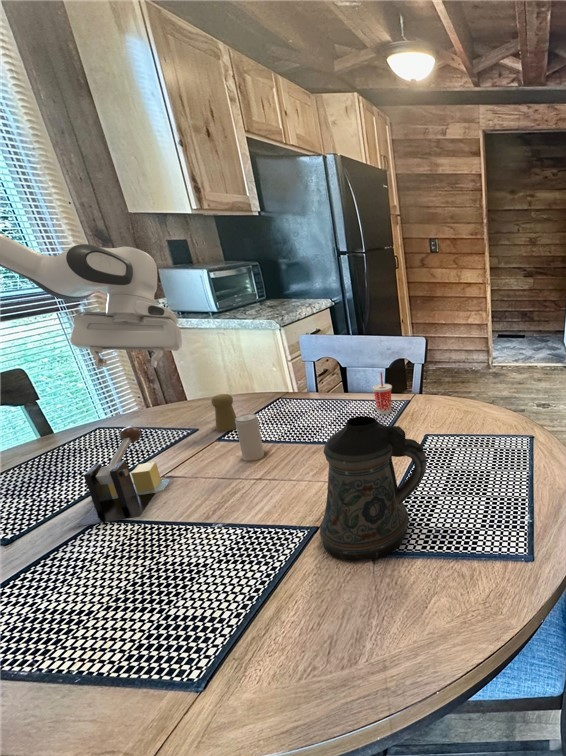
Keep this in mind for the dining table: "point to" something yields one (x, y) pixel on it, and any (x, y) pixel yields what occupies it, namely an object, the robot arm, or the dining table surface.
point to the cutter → (105, 504)
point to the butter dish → (159, 488)
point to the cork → (224, 412)
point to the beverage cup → (382, 397)
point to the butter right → (146, 477)
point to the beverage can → (249, 437)
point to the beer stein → (367, 489)
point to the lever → (118, 454)
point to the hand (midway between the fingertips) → (126, 366)
